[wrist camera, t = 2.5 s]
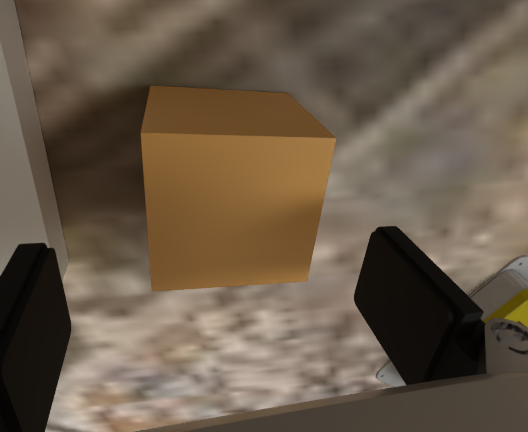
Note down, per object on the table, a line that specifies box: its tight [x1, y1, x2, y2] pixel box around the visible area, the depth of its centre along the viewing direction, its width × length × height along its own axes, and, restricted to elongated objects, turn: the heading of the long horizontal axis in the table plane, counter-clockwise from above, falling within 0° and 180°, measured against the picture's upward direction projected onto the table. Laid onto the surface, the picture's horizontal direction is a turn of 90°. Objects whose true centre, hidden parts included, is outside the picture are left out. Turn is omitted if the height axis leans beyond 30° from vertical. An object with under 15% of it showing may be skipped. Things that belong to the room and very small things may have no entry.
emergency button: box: [376, 255, 528, 387], centre depth 29 cm, size 9×4×15 cm
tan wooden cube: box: [141, 85, 336, 291], centre depth 15 cm, size 6×6×6 cm
